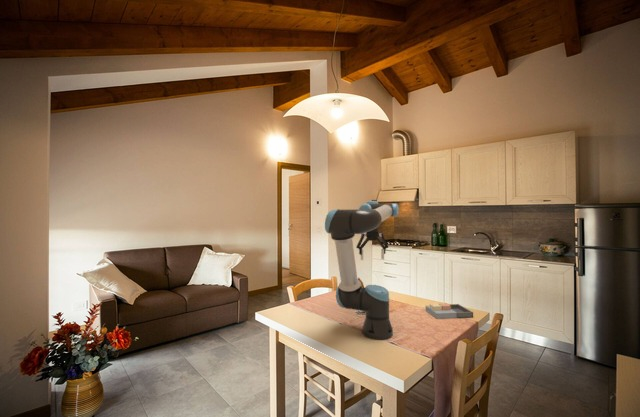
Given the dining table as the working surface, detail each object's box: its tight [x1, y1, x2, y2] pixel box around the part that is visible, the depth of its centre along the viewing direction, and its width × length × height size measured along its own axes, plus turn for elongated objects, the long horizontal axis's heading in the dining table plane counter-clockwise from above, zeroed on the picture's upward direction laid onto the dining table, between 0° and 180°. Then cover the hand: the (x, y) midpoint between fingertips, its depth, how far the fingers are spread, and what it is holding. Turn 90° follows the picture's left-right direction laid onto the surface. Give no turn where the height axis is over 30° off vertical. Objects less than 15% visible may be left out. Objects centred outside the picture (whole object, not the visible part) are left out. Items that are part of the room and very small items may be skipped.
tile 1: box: [429, 303, 442, 311], centre depth 178 cm, size 5×5×2 cm
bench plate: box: [425, 305, 458, 320], centre depth 178 cm, size 14×12×3 cm
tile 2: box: [438, 302, 451, 310], centre depth 179 cm, size 5×5×2 cm
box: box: [449, 303, 474, 319], centre depth 179 cm, size 15×10×3 cm, turn 6°
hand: (372, 259), depth 189 cm, fingers open, 13 cm apart
